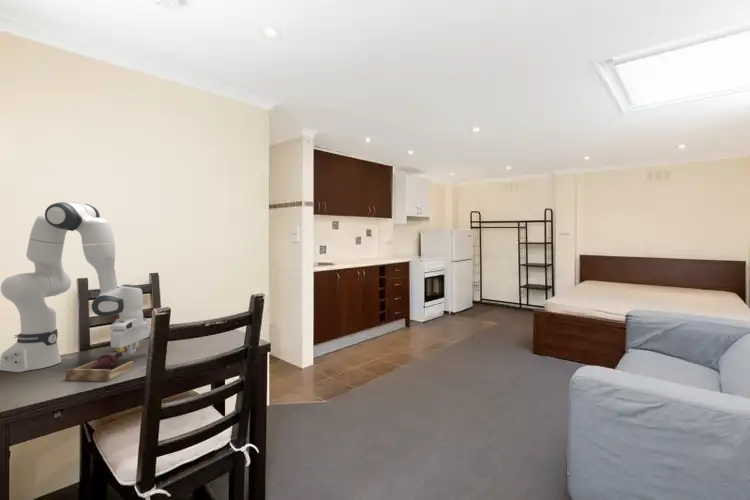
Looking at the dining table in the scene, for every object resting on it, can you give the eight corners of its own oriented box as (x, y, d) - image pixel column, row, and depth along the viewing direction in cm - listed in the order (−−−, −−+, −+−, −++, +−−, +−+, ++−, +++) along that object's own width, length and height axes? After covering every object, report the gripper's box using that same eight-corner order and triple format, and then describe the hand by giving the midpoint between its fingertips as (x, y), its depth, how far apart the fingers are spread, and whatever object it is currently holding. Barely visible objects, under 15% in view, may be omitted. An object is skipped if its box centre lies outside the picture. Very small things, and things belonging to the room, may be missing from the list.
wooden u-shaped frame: (65, 380, 142) (65, 369, 142) (95, 367, 156) (95, 357, 156) (108, 381, 141) (108, 370, 141) (134, 368, 155) (133, 358, 155)
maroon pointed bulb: (103, 361, 144) (130, 353, 159) (85, 356, 145) (114, 348, 160) (97, 379, 144) (125, 369, 159) (80, 374, 144) (109, 364, 159)
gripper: (140, 316, 176) (140, 346, 176) (107, 326, 156) (107, 360, 156) (153, 316, 176) (153, 346, 176) (121, 326, 155) (122, 360, 156)
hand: (131, 353), depth 166 cm, fingers closed
